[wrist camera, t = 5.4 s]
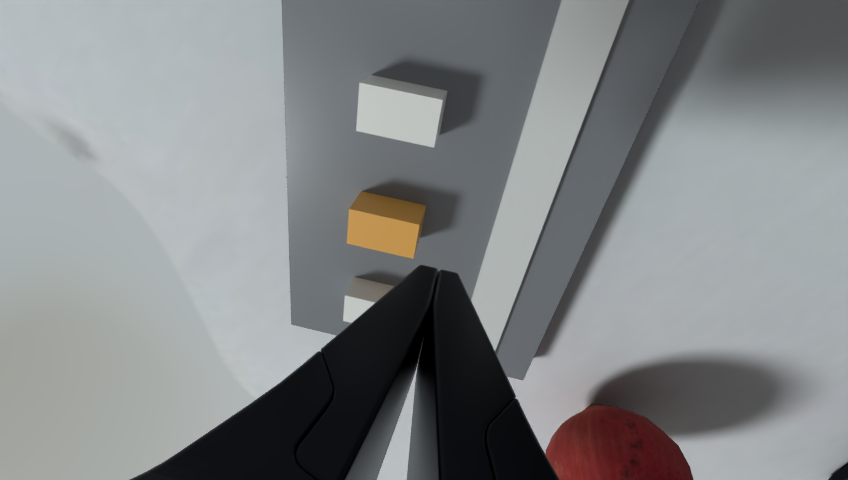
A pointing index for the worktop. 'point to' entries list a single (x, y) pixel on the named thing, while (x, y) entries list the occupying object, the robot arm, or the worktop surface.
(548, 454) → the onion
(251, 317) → the worktop surface
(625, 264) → the worktop surface
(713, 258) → the worktop surface
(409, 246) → the block
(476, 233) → the panel
